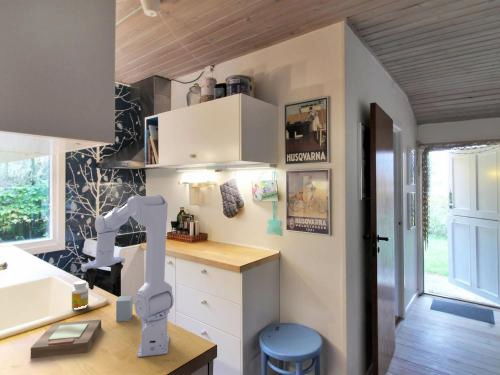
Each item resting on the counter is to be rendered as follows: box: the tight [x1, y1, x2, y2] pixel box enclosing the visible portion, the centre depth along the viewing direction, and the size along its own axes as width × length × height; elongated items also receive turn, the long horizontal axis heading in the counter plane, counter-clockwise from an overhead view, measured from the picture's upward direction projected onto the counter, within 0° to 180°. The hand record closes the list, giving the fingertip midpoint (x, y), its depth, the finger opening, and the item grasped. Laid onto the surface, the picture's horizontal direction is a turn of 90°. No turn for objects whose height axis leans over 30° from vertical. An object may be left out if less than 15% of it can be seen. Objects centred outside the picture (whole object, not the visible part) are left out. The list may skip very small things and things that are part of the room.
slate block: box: [115, 295, 134, 323], centre depth 103 cm, size 4×4×7 cm
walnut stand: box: [30, 318, 102, 359], centre depth 88 cm, size 14×14×3 cm
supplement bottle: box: [71, 280, 89, 310], centre depth 111 cm, size 5×5×10 cm
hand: (102, 285), depth 105 cm, fingers open, 7 cm apart
